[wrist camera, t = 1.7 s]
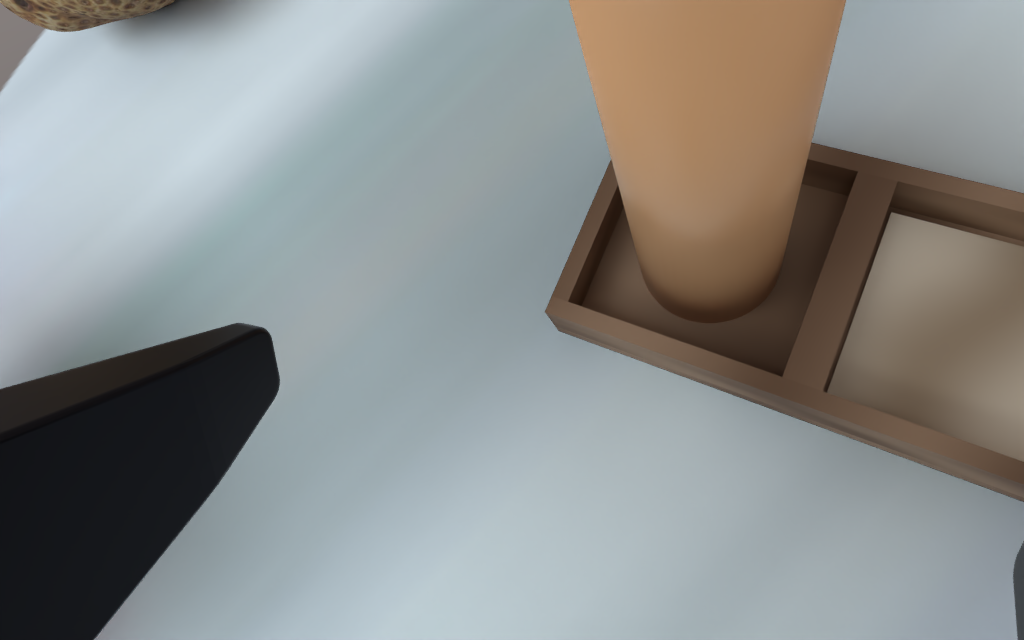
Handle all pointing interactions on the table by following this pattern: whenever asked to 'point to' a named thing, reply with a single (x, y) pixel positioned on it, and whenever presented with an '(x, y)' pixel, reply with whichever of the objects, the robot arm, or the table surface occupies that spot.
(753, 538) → the table surface
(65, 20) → the natural sponge
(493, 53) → the table surface
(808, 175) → the brown divided tray
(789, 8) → the tan rounded column
